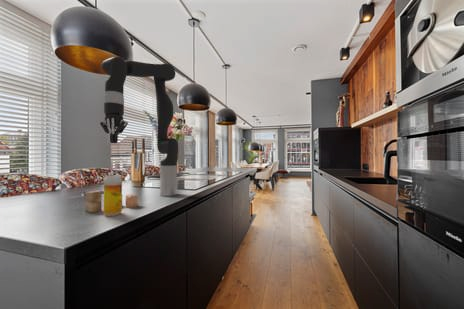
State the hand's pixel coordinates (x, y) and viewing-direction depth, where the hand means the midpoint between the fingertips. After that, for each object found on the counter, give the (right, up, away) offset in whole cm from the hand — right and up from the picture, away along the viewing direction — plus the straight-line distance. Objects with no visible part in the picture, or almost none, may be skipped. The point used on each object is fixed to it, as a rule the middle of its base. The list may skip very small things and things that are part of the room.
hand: (113, 143), depth 89 cm
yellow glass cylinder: (+5, -29, -9) cm, 30 cm away
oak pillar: (-6, -28, -4) cm, 29 cm away
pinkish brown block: (+6, -29, +3) cm, 29 cm away
